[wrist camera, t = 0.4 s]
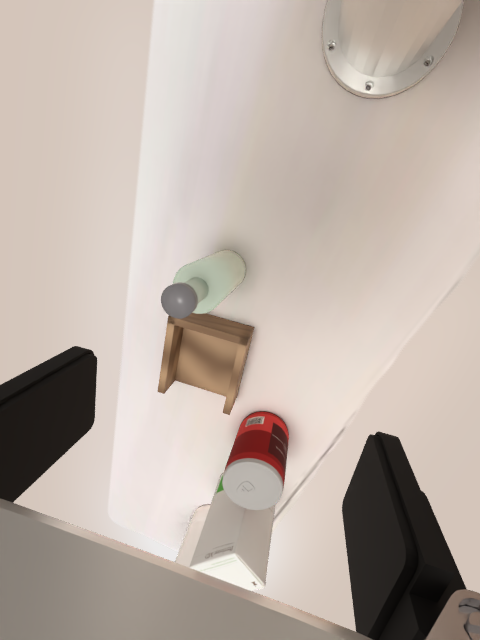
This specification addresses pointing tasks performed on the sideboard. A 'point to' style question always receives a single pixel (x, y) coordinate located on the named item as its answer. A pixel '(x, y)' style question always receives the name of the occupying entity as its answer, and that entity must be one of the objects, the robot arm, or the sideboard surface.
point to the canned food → (257, 462)
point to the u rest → (205, 354)
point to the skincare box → (234, 542)
